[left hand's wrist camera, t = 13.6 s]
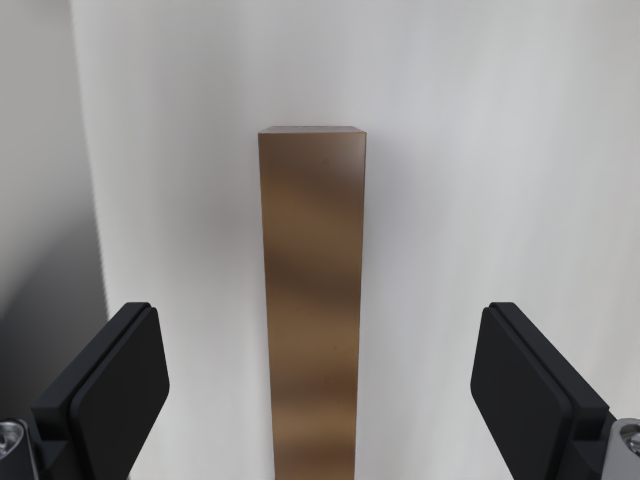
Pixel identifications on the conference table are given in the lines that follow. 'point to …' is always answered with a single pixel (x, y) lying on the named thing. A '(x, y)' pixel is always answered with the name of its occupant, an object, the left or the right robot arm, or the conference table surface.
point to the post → (313, 294)
